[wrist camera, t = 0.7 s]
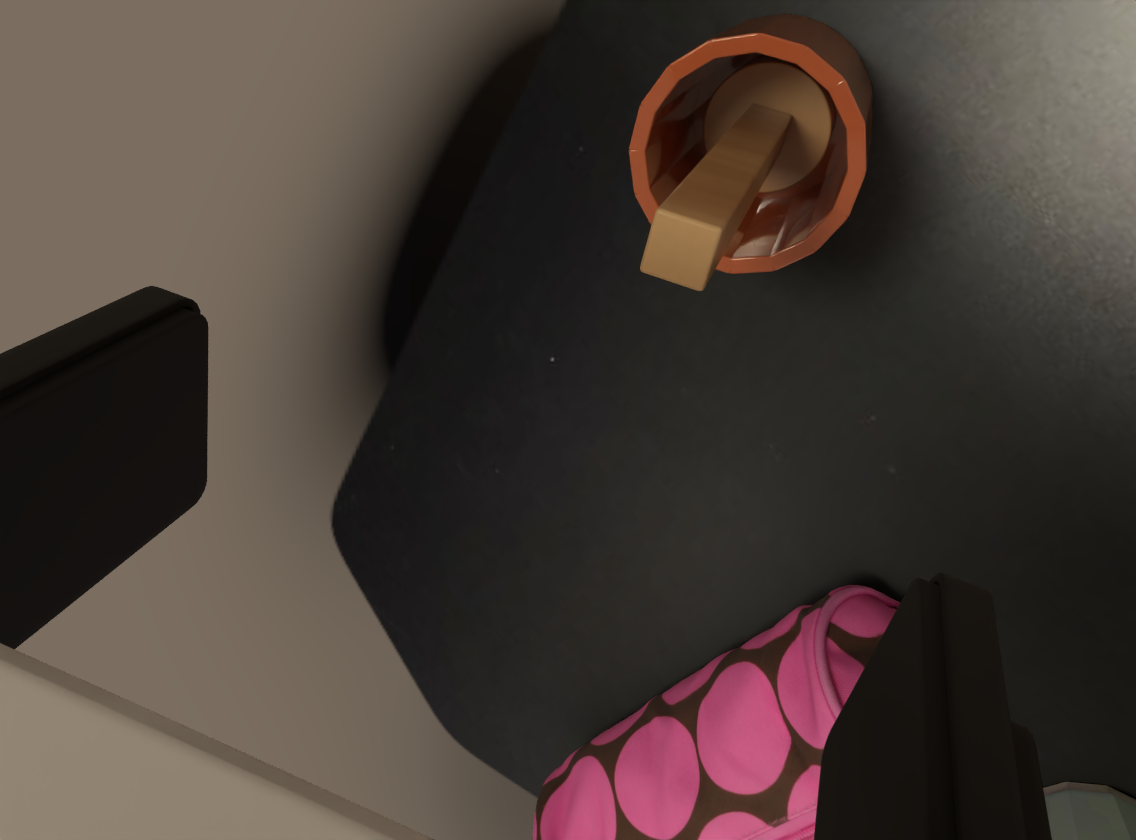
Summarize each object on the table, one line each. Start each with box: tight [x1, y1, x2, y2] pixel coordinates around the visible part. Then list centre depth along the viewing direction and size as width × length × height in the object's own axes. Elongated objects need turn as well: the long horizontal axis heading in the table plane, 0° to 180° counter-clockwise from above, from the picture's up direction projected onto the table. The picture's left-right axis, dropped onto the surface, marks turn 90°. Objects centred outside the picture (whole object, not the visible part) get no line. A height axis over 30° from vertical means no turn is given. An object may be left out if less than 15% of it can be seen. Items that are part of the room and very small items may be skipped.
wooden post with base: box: [640, 55, 836, 291], centre depth 25 cm, size 4×4×16 cm
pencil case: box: [533, 585, 900, 840], centre depth 41 cm, size 21×10×10 cm, turn 144°
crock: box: [629, 14, 873, 274], centre depth 29 cm, size 7×7×8 cm
